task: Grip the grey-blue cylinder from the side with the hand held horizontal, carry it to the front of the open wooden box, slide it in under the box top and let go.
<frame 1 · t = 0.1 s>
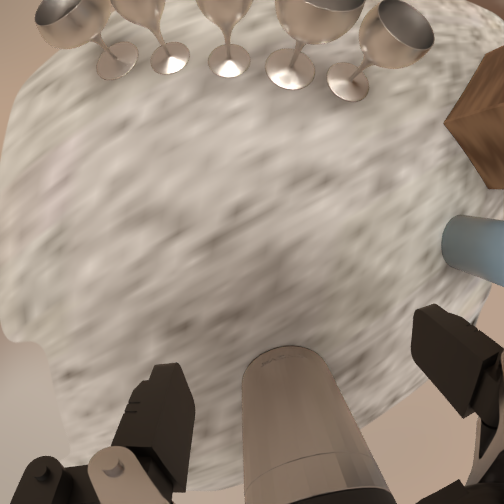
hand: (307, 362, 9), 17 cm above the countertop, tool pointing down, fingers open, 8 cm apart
goblet set: (226, 61, 23), on the countertop
open wooden box: (491, 113, 24), on the countertop
grey-blue cylinder: (459, 241, 27), on the countertop
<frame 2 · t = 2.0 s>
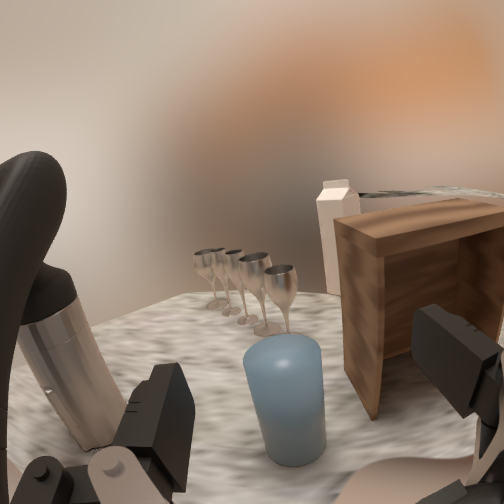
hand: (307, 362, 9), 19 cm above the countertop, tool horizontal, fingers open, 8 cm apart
goblet set: (247, 320, 54), on the countertop
milk: (347, 290, 57), on the countertop
open wooden box: (420, 369, 30), on the countertop
grey-blue cylinder: (296, 444, 25), on the countertop
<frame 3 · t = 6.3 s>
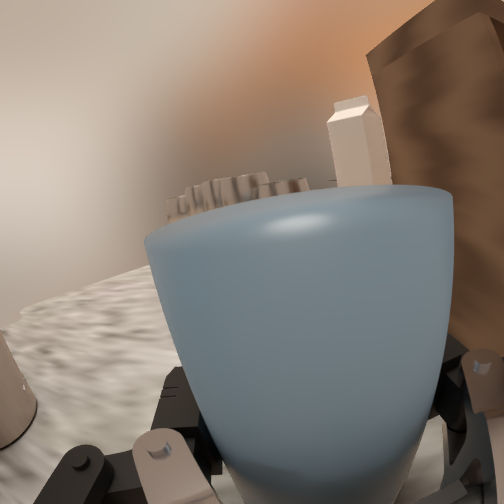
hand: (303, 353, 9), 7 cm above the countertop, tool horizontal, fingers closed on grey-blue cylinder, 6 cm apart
goblet set: (236, 284, 38), on the countertop
milk: (371, 247, 42), on the countertop
grey-blue cylinder: (324, 499, 9), on the countertop, touching gripper
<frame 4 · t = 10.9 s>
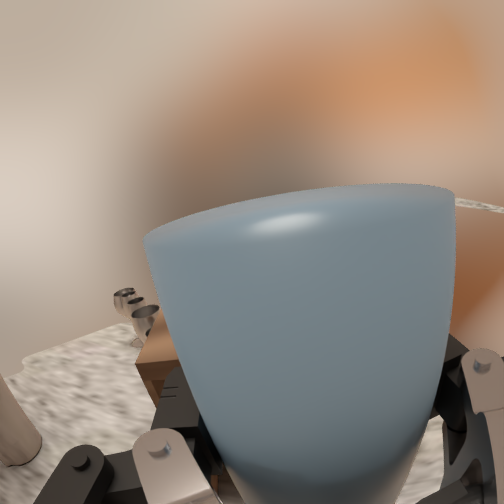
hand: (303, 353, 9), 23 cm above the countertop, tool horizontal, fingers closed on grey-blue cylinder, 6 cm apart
goblet set: (158, 364, 50), on the countertop
open wooden box: (290, 454, 27), on the countertop
grey-blue cylinder: (324, 499, 9), point 17 cm above the countertop, touching gripper
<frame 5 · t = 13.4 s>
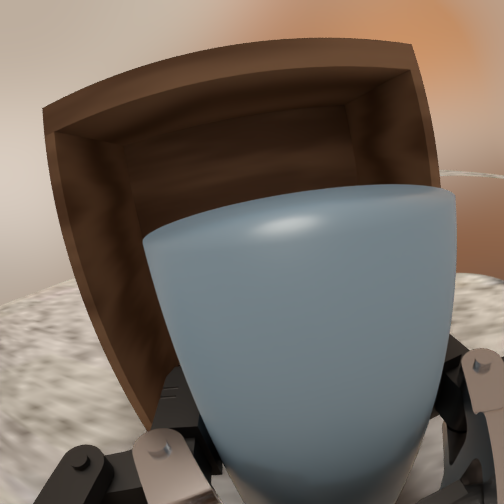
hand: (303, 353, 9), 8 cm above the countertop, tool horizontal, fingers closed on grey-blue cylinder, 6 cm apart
open wooden box: (283, 373, 20), on the countertop
grey-blue cylinder: (324, 500, 9), point 1 cm above the countertop, touching gripper
when the fingers open (8 cm above the countertop, at t = 15.6 s): grey-blue cylinder drops 1 cm, on the countertop.
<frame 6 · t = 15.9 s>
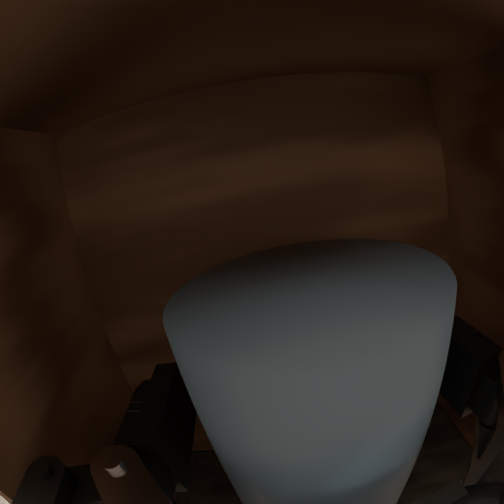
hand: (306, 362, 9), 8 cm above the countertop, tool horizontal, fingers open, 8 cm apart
open wooden box: (321, 494, 10), on the countertop
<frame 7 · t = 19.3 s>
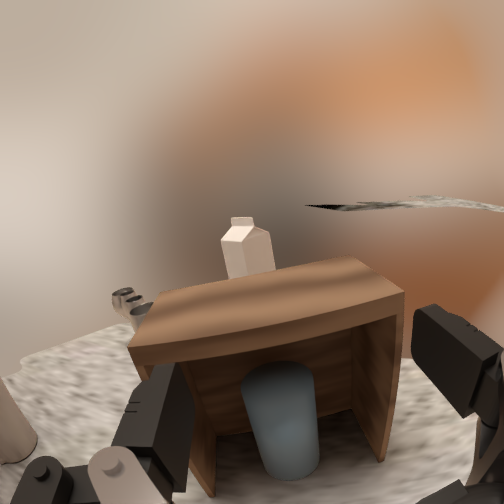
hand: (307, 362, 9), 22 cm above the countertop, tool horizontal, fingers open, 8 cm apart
goblet set: (157, 365, 49), on the countertop
milk: (263, 334, 54), on the countertop
open wooden box: (290, 451, 26), on the countertop
grey-blue cylinder: (291, 459, 25), on the countertop
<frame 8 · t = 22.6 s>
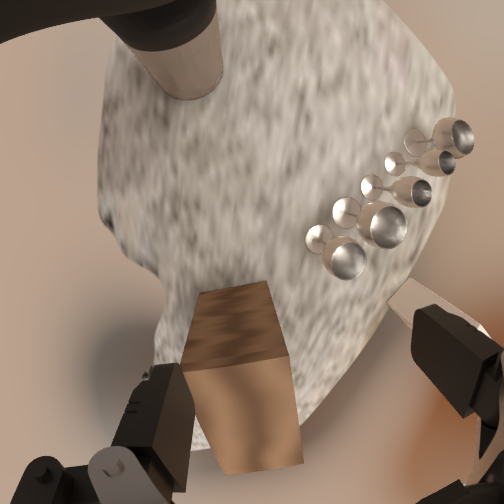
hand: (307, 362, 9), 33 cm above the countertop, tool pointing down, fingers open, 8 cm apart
goblet set: (372, 186, 41), on the countertop
milk: (405, 299, 46), on the countertop
open wooden box: (244, 338, 45), on the countertop
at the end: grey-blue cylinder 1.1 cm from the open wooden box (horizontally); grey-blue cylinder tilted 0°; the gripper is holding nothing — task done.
